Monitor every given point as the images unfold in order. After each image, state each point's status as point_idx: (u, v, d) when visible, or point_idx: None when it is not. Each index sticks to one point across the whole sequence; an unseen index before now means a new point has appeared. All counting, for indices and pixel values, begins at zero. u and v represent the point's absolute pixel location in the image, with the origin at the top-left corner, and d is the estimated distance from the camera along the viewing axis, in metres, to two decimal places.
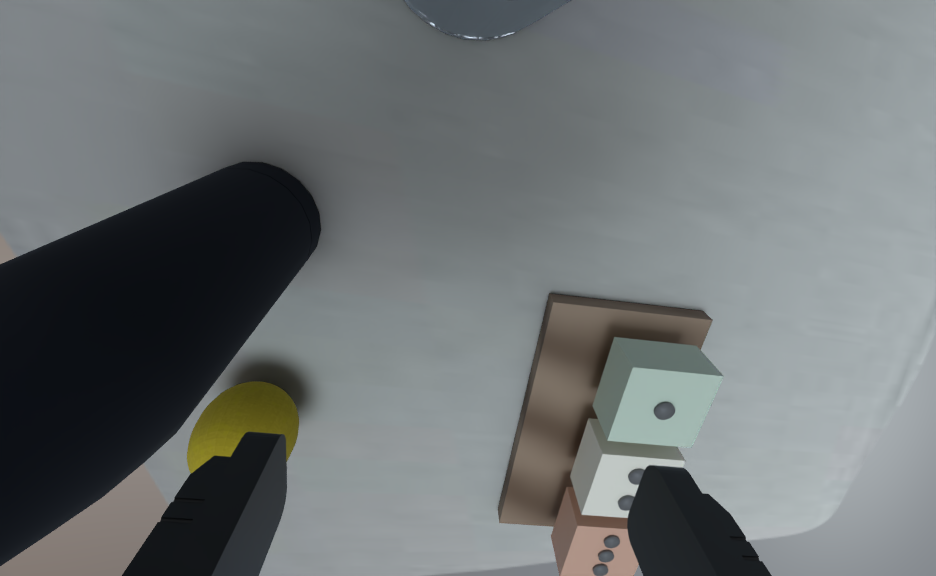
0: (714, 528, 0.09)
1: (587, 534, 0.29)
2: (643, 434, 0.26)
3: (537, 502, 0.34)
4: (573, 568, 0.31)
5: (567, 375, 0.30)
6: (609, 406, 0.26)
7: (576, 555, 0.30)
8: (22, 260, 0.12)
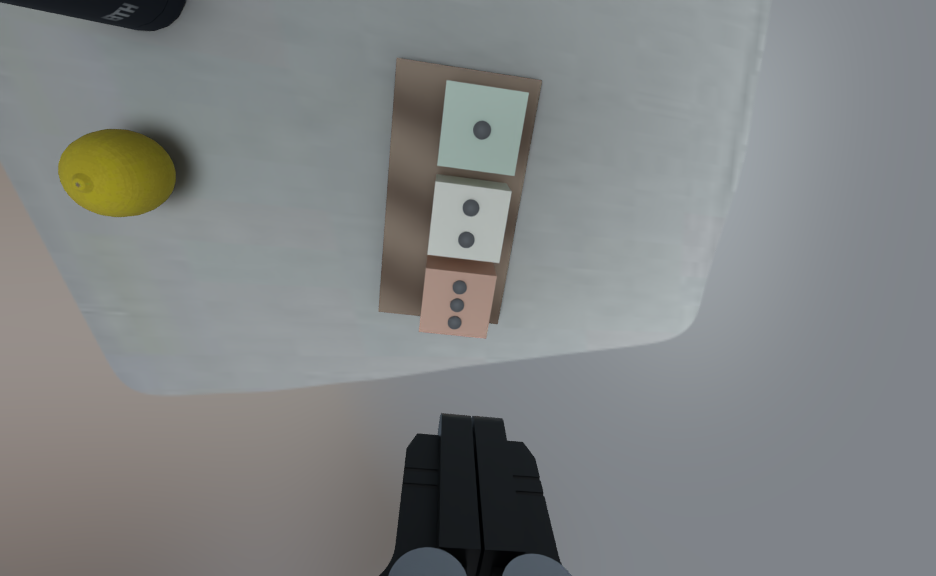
0: (501, 466, 0.09)
1: (437, 279, 0.32)
2: (468, 159, 0.29)
3: (411, 287, 0.37)
4: (430, 321, 0.34)
5: (419, 139, 0.33)
6: None
7: (430, 305, 0.33)
8: None
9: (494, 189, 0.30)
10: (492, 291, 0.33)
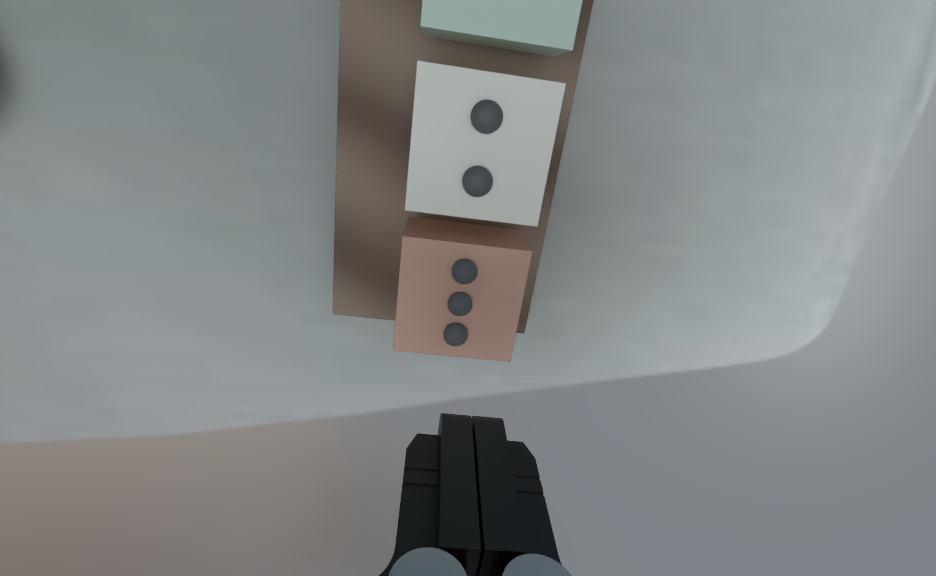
0: (501, 466, 0.09)
1: (423, 257, 0.18)
2: (483, 12, 0.15)
3: (383, 274, 0.23)
4: (412, 332, 0.19)
5: (392, 7, 0.18)
6: None
7: (412, 303, 0.19)
8: None
9: (532, 79, 0.16)
10: (523, 279, 0.18)
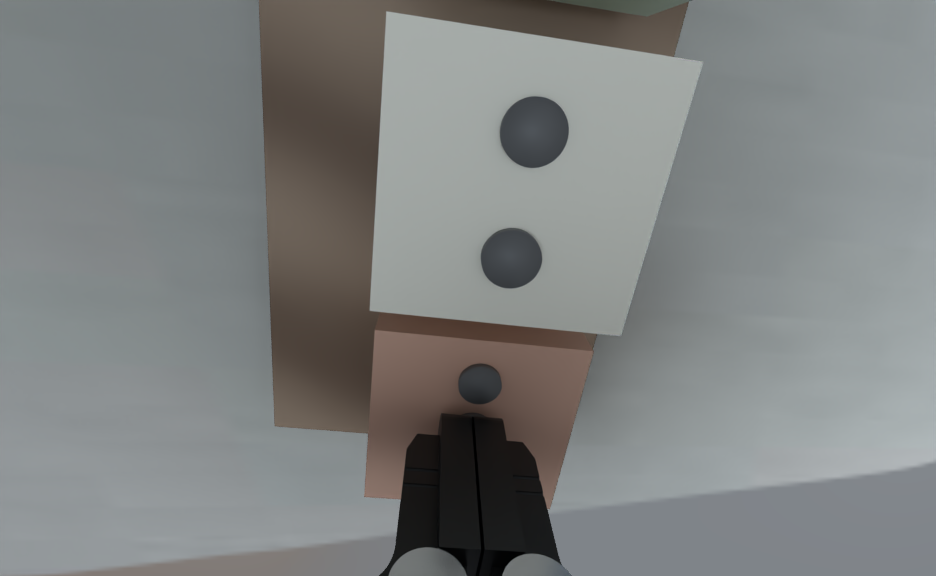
0: (501, 466, 0.09)
1: (411, 362, 0.11)
2: None
3: (351, 369, 0.15)
4: (394, 472, 0.12)
5: None
6: None
7: (393, 431, 0.11)
8: None
9: (632, 53, 0.07)
10: (576, 392, 0.11)
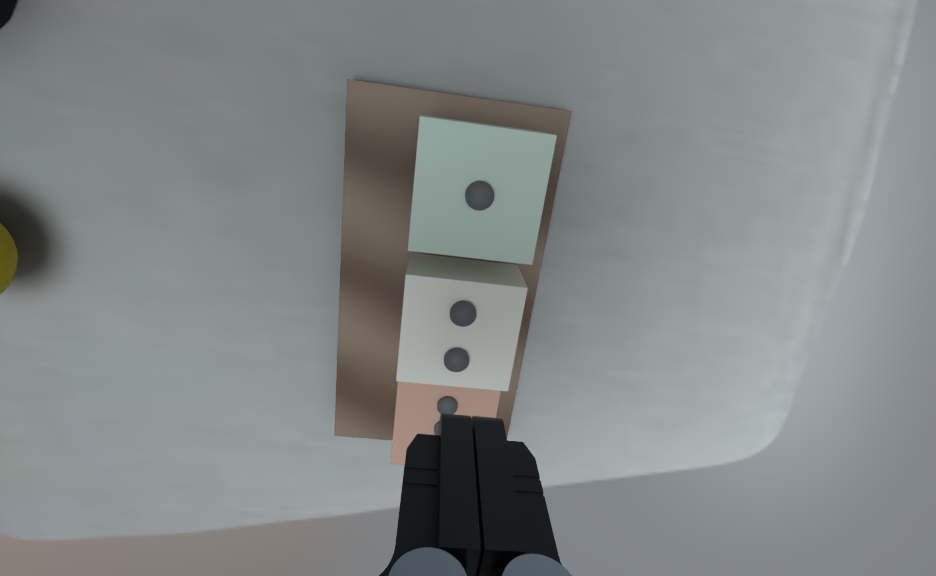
0: (501, 466, 0.09)
1: (414, 395, 0.22)
2: (458, 240, 0.18)
3: (380, 403, 0.26)
4: (405, 450, 0.24)
5: (386, 200, 0.22)
6: None
7: (405, 429, 0.23)
8: None
9: (500, 285, 0.19)
10: (494, 410, 0.23)
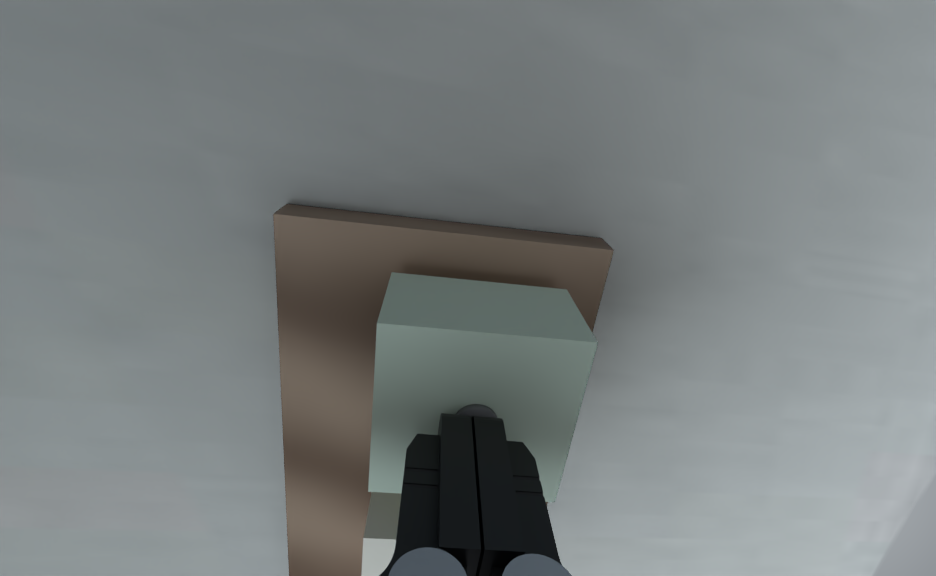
0: (501, 466, 0.09)
1: None
2: None
3: None
4: None
5: (343, 369, 0.15)
6: None
7: None
8: None
9: None
10: None
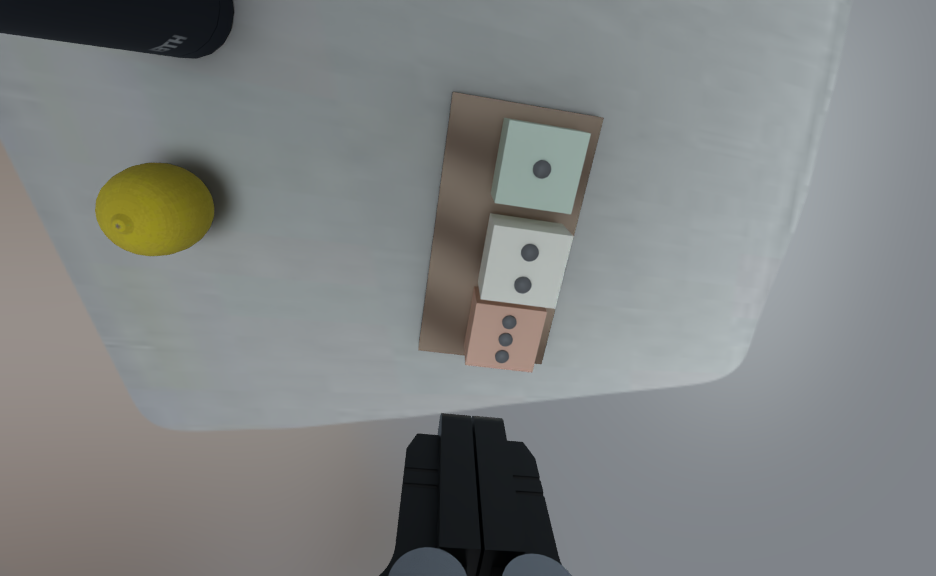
0: (501, 466, 0.09)
1: (486, 314, 0.32)
2: (526, 197, 0.29)
3: (453, 325, 0.36)
4: (477, 355, 0.33)
5: (472, 176, 0.31)
6: (497, 174, 0.29)
7: (478, 339, 0.33)
8: None
9: (555, 233, 0.29)
10: (541, 326, 0.33)
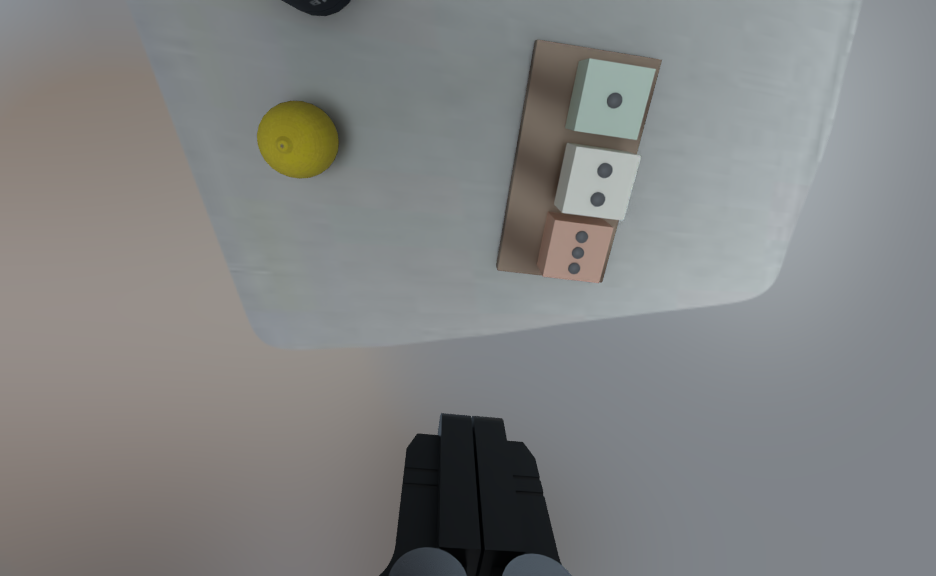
0: (501, 466, 0.09)
1: (563, 230, 0.38)
2: (600, 125, 0.35)
3: (528, 247, 0.42)
4: (553, 267, 0.39)
5: (550, 113, 0.37)
6: (575, 107, 0.35)
7: (555, 252, 0.39)
8: None
9: (626, 154, 0.35)
10: (608, 240, 0.39)
